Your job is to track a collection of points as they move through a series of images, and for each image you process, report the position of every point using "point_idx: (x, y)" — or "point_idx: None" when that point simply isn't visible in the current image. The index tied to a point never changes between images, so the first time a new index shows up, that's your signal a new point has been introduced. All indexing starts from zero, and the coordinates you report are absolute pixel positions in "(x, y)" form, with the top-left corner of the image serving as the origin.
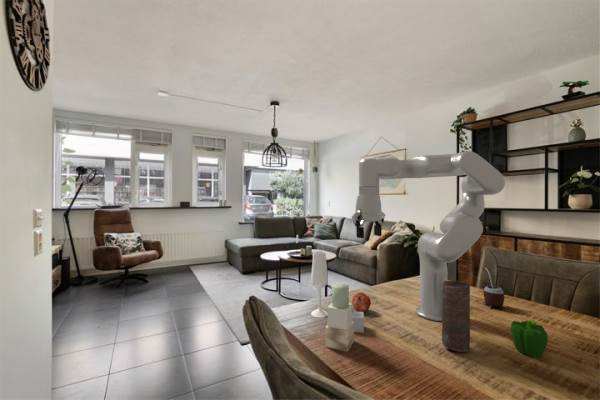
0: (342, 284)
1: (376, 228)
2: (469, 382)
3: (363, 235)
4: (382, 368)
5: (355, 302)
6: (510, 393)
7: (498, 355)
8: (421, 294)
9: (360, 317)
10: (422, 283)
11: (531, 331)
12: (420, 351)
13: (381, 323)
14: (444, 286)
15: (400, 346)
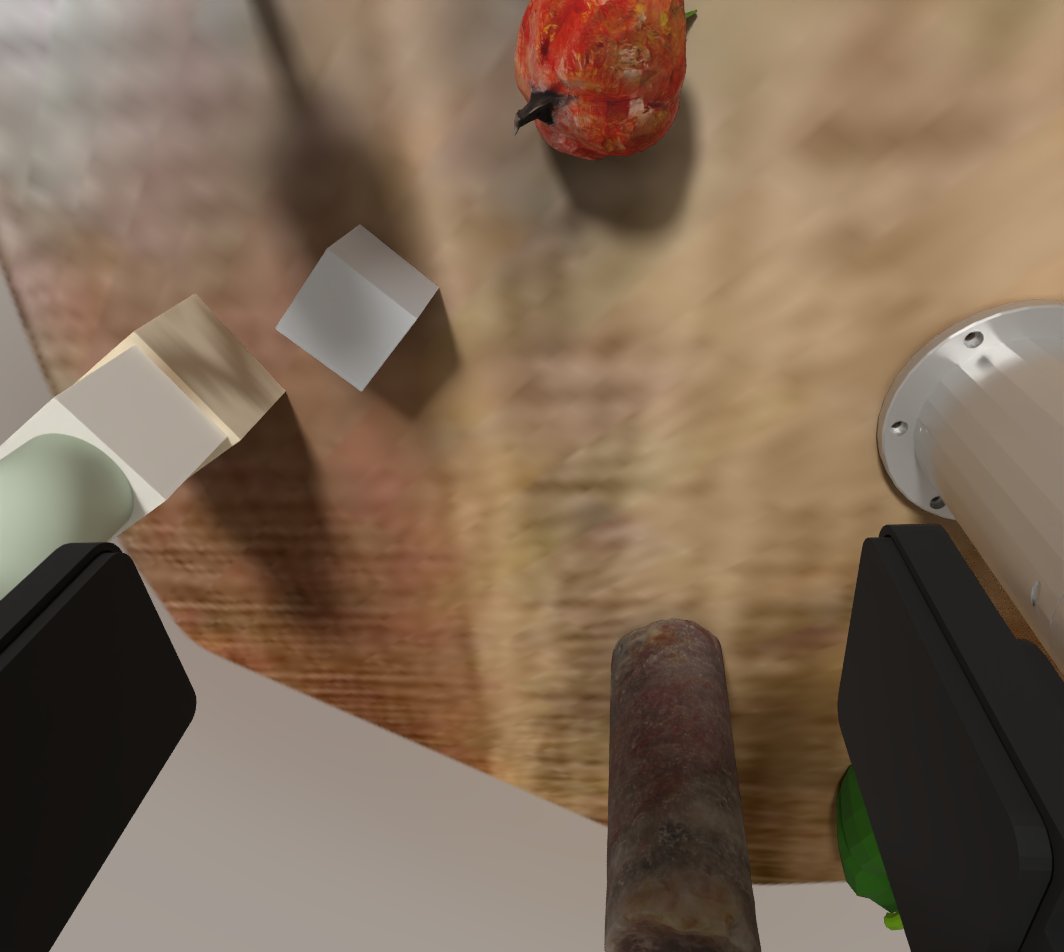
0: (2, 555)
1: (935, 822)
2: (499, 741)
3: (145, 764)
4: (287, 585)
5: (517, 78)
6: (555, 801)
7: (754, 737)
8: (993, 448)
9: (345, 374)
10: (1031, 518)
11: (856, 890)
12: (513, 594)
13: (570, 322)
14: (614, 919)
15: (466, 533)
